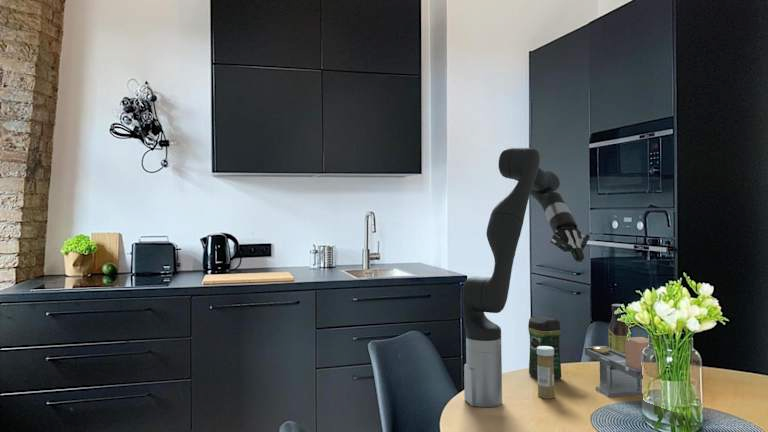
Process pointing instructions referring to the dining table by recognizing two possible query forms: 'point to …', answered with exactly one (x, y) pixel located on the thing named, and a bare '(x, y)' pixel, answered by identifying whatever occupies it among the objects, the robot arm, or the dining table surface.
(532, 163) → the robot arm
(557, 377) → the coffee jar
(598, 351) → the brass weight
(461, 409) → the dining table surface
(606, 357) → the beam
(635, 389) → the fulcrum
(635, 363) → the brown rectangular block
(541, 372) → the sprinkles bottle
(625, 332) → the sauce bottle
